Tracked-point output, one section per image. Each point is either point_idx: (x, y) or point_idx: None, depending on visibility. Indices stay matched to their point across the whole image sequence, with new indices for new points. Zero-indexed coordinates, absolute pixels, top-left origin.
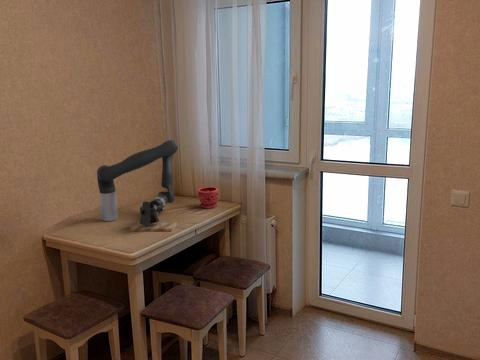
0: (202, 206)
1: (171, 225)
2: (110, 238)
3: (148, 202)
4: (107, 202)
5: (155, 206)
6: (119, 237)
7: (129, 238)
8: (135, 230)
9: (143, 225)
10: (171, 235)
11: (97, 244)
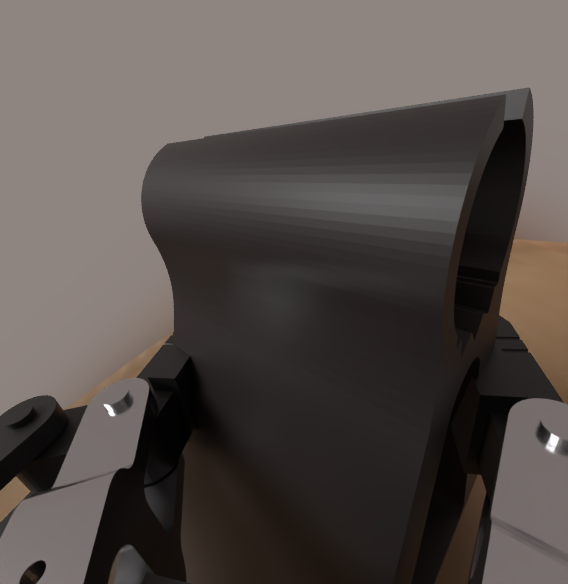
0: None
1: None
2: (564, 303)
3: (266, 144)
4: None
5: (39, 542)
6: (508, 318)
7: None
8: None
9: (449, 553)
10: (149, 352)
11: (549, 252)
